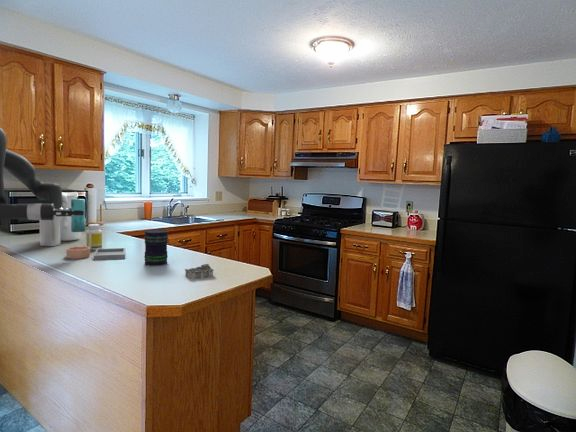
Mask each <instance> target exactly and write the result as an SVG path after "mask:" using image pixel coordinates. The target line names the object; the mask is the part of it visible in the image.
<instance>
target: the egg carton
mask: <svg viewBox="0 0 576 432" xmlns="http://www.w3.org/2000/svg"><path fill="white" fill-rule="evenodd" d="M184 271H185V277H187V278H188V279H196V278H200V279H203V278H204V277H208V278H210V277H212V276H213V275H214V268H211V266H210V265H209V263H204V264H201V266H197V267H191V268H185V269H184Z"/></svg>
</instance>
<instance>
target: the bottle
mask: <svg viewBox="0 0 576 432" xmlns="http://www.w3.org/2000/svg"><path fill="white" fill-rule="evenodd" d="M71 210H83V211H84V215H74V216H71V232H82V233H84V232H86V199H85V198H77V199H71Z"/></svg>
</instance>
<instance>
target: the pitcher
mask: <svg viewBox="0 0 576 432" xmlns="http://www.w3.org/2000/svg"><path fill="white" fill-rule="evenodd" d="M78 198H79V193H78V192H77V191H74V192H73V191H72V192H63V191H62V204H61V207H63V208H71V199H78ZM60 232H61V241H63V242H64V241H67V242H68V241H77V240H79V239H80V237H81V235H82V233H83V232H71V216H67V217H66V216H62V217H60Z"/></svg>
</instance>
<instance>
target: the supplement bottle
mask: <svg viewBox="0 0 576 432" xmlns="http://www.w3.org/2000/svg"><path fill="white" fill-rule="evenodd" d="M87 227H88V230H86V247H90V251H96V249H103V231H102V230H101V229H100V228H101V225H100V224H98V223H95V224H93V223H91V224H88V226H87Z"/></svg>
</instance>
